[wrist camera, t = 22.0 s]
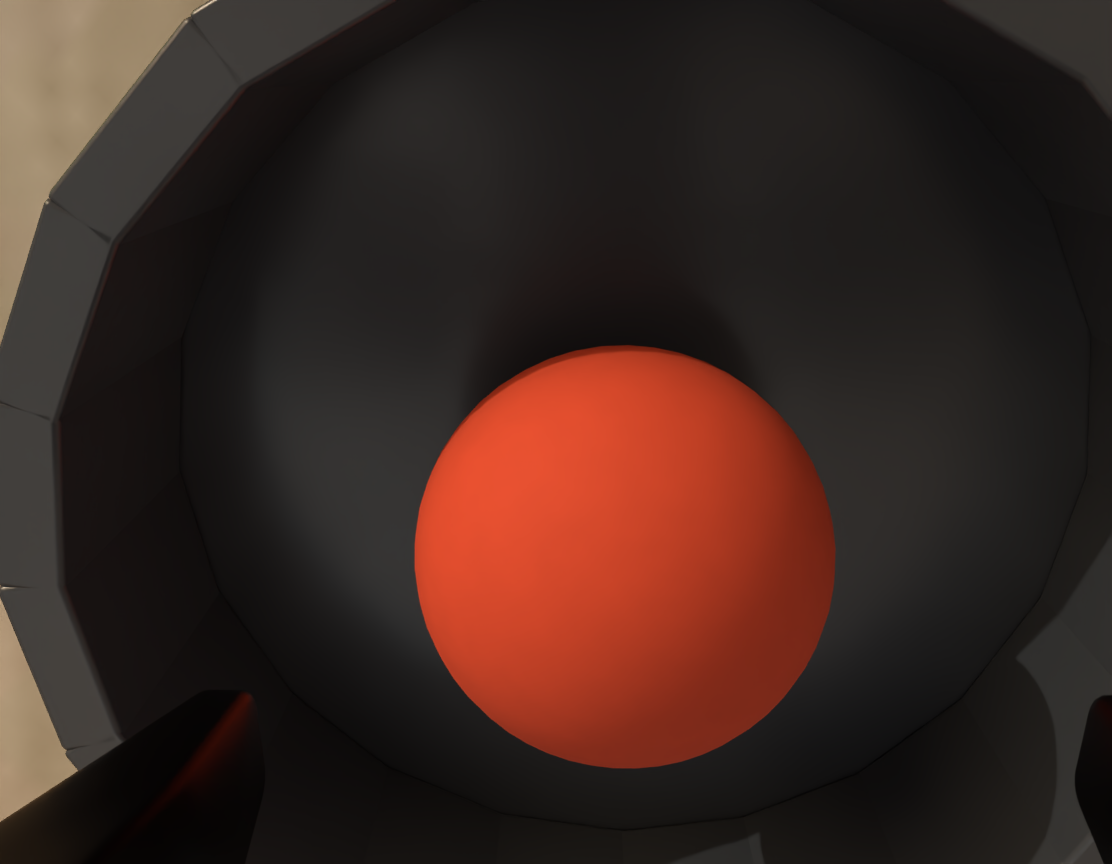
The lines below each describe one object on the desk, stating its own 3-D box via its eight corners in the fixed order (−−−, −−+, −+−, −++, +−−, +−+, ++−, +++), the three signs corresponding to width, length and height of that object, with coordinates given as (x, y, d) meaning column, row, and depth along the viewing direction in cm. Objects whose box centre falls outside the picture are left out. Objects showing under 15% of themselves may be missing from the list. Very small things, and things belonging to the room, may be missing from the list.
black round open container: (616, 971, 18) (626, 1198, 14) (-54, 459, 15) (-261, 587, 11) (1328, 461, 14) (1587, 596, 11) (646, -393, 11) (683, -625, 7)
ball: (623, 674, 15) (607, 941, 11) (391, 461, 14) (262, 653, 10) (878, 478, 14) (987, 694, 9) (634, 225, 13) (617, 320, 8)
